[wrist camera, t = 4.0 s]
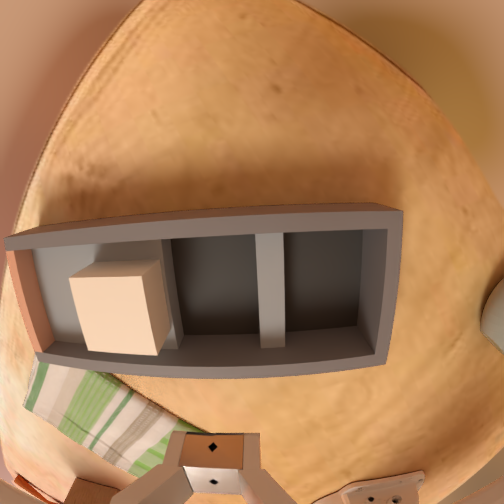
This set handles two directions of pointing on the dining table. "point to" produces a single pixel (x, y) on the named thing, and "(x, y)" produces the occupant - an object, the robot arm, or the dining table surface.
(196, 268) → the box
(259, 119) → the dining table surface
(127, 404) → the dish towel
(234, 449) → the robot arm
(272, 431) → the dining table surface
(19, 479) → the purple and brown maraca
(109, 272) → the cream block
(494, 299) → the air freshener
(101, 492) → the wooden block
